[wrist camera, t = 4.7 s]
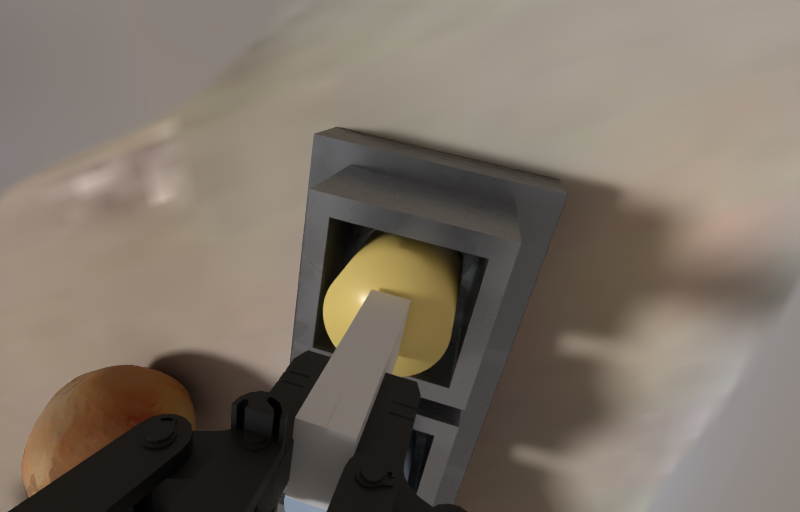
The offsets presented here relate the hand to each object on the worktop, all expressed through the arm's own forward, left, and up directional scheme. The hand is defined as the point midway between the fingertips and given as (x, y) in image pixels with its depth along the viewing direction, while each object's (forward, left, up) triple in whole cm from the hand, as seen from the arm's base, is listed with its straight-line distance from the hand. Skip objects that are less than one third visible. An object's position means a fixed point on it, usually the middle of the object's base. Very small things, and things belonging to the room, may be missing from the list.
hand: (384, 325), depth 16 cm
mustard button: (0, 0, -5) cm, 5 cm away
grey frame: (0, -9, -9) cm, 13 cm away
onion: (-17, -18, -10) cm, 27 cm away
